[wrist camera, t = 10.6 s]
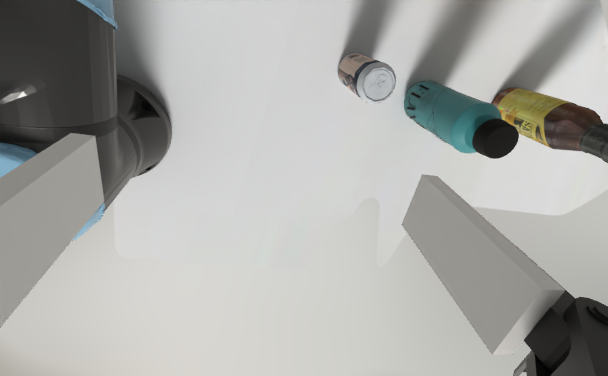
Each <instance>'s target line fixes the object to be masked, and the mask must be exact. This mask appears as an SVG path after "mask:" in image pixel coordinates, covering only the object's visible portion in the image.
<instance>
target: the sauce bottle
mask: <svg viewBox="0 0 608 376" xmlns="http://www.w3.org/2000/svg"><path fill="white" fill-rule="evenodd" d="M492 104H493V105H494V106H496V107H497V108H498V110H499V111H500V113H501V116H502V120H504V121H506V122H508V123H509V124H511V125H513V126H514V127H515V128H516V129H517V131H518V133H520V134H522V135H524V136H526V137H528V138H530V139H533V140H535V141H537V142H539V143H542V144H544V145H546V146H548V147H550V148H552V149H560V150H573V151H583V152H585V153H590V154H592V155H595V156H597V157H599V158H602V159H603V161H605V162H607V163H608V124H603V122H602V120H601V119H600V116H599V115H598V114H597V113H596V112H595V111H593V110H590V109H589V108H585V107H582V106H578V105H576V104H574V103H571V102H568V101H564V100H561V99H557V98H554V97H550V96H547V95H544V94H540V93H537V92H533V91H530V90H526V89H519V88H509V89H506V90H504V91H502V92H501V93H500V94H498V96H497V97H496V98H495V100H494V101H493V103H492Z"/></svg>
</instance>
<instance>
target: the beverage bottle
mask: <svg viewBox="0 0 608 376" xmlns="http://www.w3.org/2000/svg"><path fill="white" fill-rule="evenodd" d="M432 81H433V80H432ZM432 81H426V80H425V81H423V82H419V83H417V84H415V85H414V86H413V87H411V88H410V90H409V91H408V92H407V94H406V97H405V100H404V109H405V111H406V112H405V113H407V114H406V115H408V116H409V117H410V118H411V119H413V120H414V122H415V121H416V122H417V124H419V125H420V126H421V125H422V127H423V128H424V127H425V129H428V130H429V131H430V132H432V134H433V133H434V134H435V135H436V136H438V137H439V138H440V139H441V140H443V141H445V142H446V143H448V144H450V145H452V146H453V147H454V148H455V149H457V150H458V151H460V152H463V153H475V152H478V153H480V154H482V155H485V156H487V157H489V158H494V159H495V158H501V157H504V156H505V155H507V154H508V153H510V152H511V151H512V150H513V149H514V147H515V146H516V144H517V142H518V138H519V134H518V131H517V129H516V128H515V127H514V126H513V125H511V124H509V123H508V122H506V121H504V120H502V116H501V113H500V111H499V110H498V108H497V107H496V106H494V105H493V104H490V103H486V102H483V101H480V100H478V99H475V98H472V97H470V96H467V95H464V94H462V93H459V92H457V91H455V90H453V89H450V88H448V86H447V87H445V86H443V84H442V85H440V84H438V83H435V81H434V82H432ZM416 122H415V123H416ZM435 135H434V136H435ZM438 137H437V138H438Z"/></svg>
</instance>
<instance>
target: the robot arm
mask: <svg viewBox="0 0 608 376" xmlns="http://www.w3.org/2000/svg"><path fill="white" fill-rule="evenodd" d="M117 29H118V27H117V23H116V21H115V20H114V8H113V0H0V327H1V326H2V325H3V324H4V322H5V321H6V320H7V319H8V318H9V316H10V315H11V314H12V313H13V312H14V310H15V309H16V308H17V307H18V305H19V304H20V303H21V302H22V301H23V299H24V298H25V297H26V296H27V294H28V293H29V292H30V291H31V290H32V288H33V287H34V286H35V285H36V284H37V282H38V281H39V280H40V279H41V277H42V276H43V275H44V274H45V273H46V271H47V270H48V269H49V268H50V266H51V265H52V264H53V263H54V262H55V260H56V259H57V258H58V257H59V255H60V254H61V253H62V252H63V251H64V249H65V248H66V247H67V246H68V245H69V243H70V242H71V241H73V240H75V239H77V238H78V237H80V236H81V235H83V234H84V233H85V232H86V231H87V230H88V229H89V228H90V227H92V225H94V224H95V223H97V222H98V221H99V220H100V219H101V217H102V216H103V214H104V211H105V210H106V209H107V208H108V206H109V205H110V204H111V202H112V201H113V200H114V199H115V198H116V196H117V195H118V194H119V193H120V191H121V190H122V189H123V188H124V186H125V185H126V184H127V183H128V181H129V180H130V179H131V178H133V177H136V176H139V175H142V174H144V173H146V172H148V171H150V170H152V169H153V168H154V167H156V166H157V165H158V164H159V163H160V161H161V160H162V159H163V157H164V156H165V155H166V153H167V151H168V149H169V147H170V143H171V136H172V131H171V124H170V121H169V118H168V115H167V113H166V111H165V109H164V108H163V106H162V104H161V103H160V102H159V100H158V99H157V98H156V97H155V96H154V95H153V94H152V93H151V92H150V91H149V90H147V89H146V88H145V87H143V86H142V85H140V84H139V83H137V82H135V81H133V80H131V79H129V78H126V77H123V76H120V75H116V48H115V30H117ZM402 226H403V227H404V229H405V230H406V231H407V233H408V234H409V236H410V237H411V239H412V240H413V242H414V243H415V244H416V246H417V247H418V249H419V250H420V252H421V253H422V254H423V256H424V257H425V259H426V260H427V261H428V263H429V265H430V266H431V267H432V269H433V270H434V272H435V273H436V275H437V276H438V278H439V279H440V280H441V282H442V283H443V285H444V286H445V287H446V289H447V290H448V292H449V293H450V295H451V296H452V298H453V299H454V300H455V302H456V303H457V305H458V306H459V308H460V309H461V311H462V312H463V314H464V315H465V316H466V318H467V319H468V321H469V322H470V324H471V325H472V327H473V328H474V329H475V331H476V332H477V334H478V335H479V337H480V338H481V339H482V341H483V342H484V344H485V345H486V347H487V348H488V350H489V351H490V352H491V354H492V355H503V354H514V353H515V352H516V350H517V349H518V348H519V347H520V345H521V344H522V343H523V342H524V341H525V342H526V344H527V345H528V346H529V347H530V349H531V350H532V351H531V352H530V353H529V354H528V355H527V356H526V358H525V359H524V360H523V361H522V362H521V364H520V365H519V366H518V367H517V368H516V369H515V371H514V374H513V376H519V375H520V374H521V373H522V372H527V376H608V306H606V305H604V304H602V303H600V302H598V301H595V300H592V299H589V298H584V297H579V298H576V299H575V298H574V297H573V296H572V295H571V294H570V293H568V292H567V291H566V290H565V289H564V288H563V287H562V286H560V285H559V284H558V283H557V282H556V281H555V280H554V279H553V278H552V277H550V276H549V275H548V274H547V273H546V272H545V271H544V270H543V269H541V268H540V267H538V265H537V264H536V263H534V262H533V261H532V260H531V259H530V258H529V257H527V255H526V254H525V253H523V252H522V251H521V250H520V249H519V248H518V247H517V246H515V245H514V244H513V243H512V242H511V241H509V240H508V239H507V238H506V237H505V236H504V235H503V234H501V233H500V232H499V231H498V230H497V229H496V228H495V227H494V226H492V225H491V224H490V223H489V222H488V221H487V220H486V219H485V218H484V217H482V216H481V215H480V214H479V213H478V212H477V211H476V210H475V209H473V208H472V207H471V206H470V205H469V204H468V203H467V202H466V201H464V200H463V199H462V198H461V197H460V196H459V195H458V194H457V193H455V192H454V191H453V190H452V189H451V188H450V187H449V186H448V185H447V184H445V183H444V182H443V181H442V180H441V179H440V178H439V177H438V176H430V175H422V176H421V179H420V181H419V184H418V186H417V188H416V191H415V193H414V196H413V198H412V201H411V203H410V206H409V208H408V211H407V213H406V215H405V218H404V220H403V223H402Z"/></svg>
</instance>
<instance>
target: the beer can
mask: <svg viewBox="0 0 608 376" xmlns="http://www.w3.org/2000/svg"><path fill="white" fill-rule="evenodd" d="M338 76H339V79H340V81H341V82H342V83H343V84H344V85H345V86H347V87H348V88H349V89H350V90H352V91H353V92H354V93H355V94H356V95H358V96H359V97H360V98H361V99H362V100H364V101H365V102H367V103H371V104H376V103H380V102H383V101H384V100H386V99H387V98H388V97H389V96H390V95H391V94H392V93H393V90H394V88H395V83H396V76H395V73H394V71H393V69H392V68H391V67H390V66H389V65H388V64H385V63H383V62H380V61H377V60H374V59H372V58H369V57H366V56H364V55H361V54H359V53H352V54H349V55H347V56H345V57H344V58H343V59H342V61H341V62H340V64H339V67H338Z"/></svg>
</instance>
